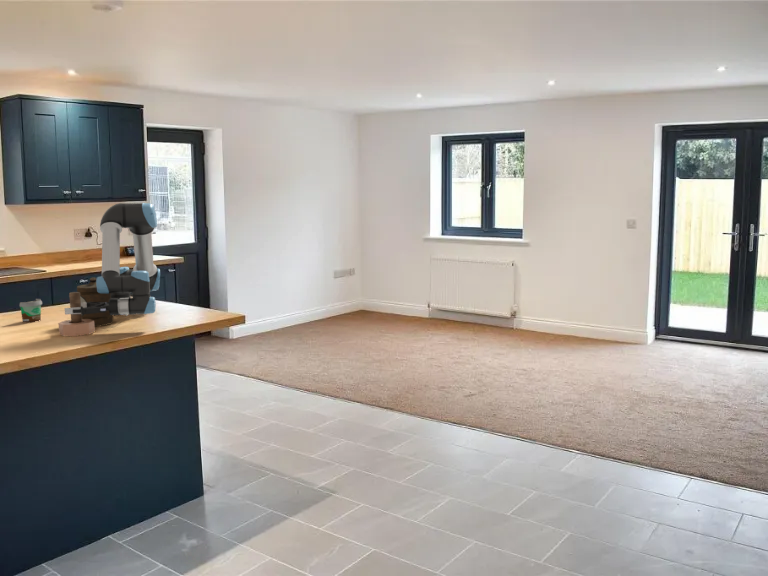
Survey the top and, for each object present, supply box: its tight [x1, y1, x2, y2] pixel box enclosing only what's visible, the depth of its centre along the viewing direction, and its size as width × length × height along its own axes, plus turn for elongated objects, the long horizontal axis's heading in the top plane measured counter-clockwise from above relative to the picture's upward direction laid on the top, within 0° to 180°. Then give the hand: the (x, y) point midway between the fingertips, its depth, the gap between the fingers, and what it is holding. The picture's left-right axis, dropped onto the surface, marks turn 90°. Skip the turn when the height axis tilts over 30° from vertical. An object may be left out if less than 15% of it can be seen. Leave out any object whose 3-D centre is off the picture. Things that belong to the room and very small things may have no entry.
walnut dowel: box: [68, 291, 82, 323], centre depth 314 cm, size 4×4×18 cm
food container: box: [19, 298, 43, 323], centre depth 343 cm, size 12×6×10 cm, turn 168°
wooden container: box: [76, 276, 114, 327], centre depth 336 cm, size 15×15×22 cm
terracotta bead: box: [58, 319, 96, 337], centre depth 314 cm, size 13×13×5 cm
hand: (67, 308), depth 313 cm, fingers open, 13 cm apart
